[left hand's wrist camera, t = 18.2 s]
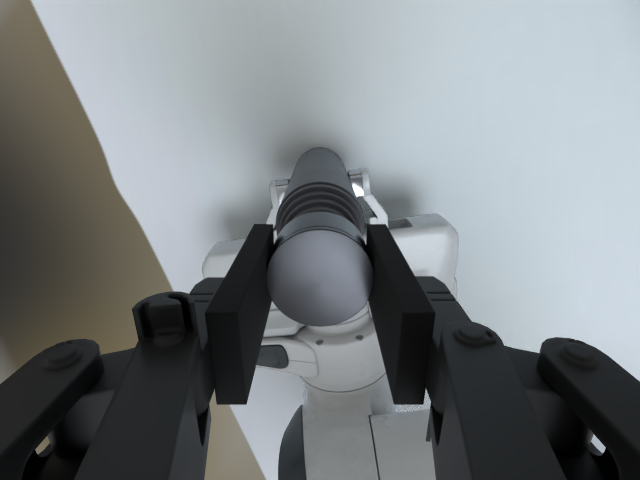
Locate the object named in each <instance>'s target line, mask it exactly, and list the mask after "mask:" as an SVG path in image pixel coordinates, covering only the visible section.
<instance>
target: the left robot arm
mask: <svg viewBox="0 0 640 480" xmlns="http://www.w3.org/2000/svg"><path fill="white" fill-rule="evenodd" d="M273 247H274V231H273V224H254V226H253V228H252V229H251V231H250V233H249V235H248V237H247V238H246V240H245V242H244V244H243V245H242V247H241V249H240V251H239V253H238V254H237V256H236V258H235V260H234V261H233V263H232V265H231V267H230V269H229V270H228V272H227V274H226V276H225V277H207V278H205V279H204V280H202V281H201V282H199V283H198V284H196V285H195V286H194V288H193V289H192V291H191V292H190V294H188V293H184V292H165V293H159V294H156V295H153V296H150V297H147V298H145V299H144V300H142V301H140V302H138V303H137V304H136V305H135V306H134V307H133V308H132V312H133V316H134V321H135V325H136V330H137V334H138V339H139V341H138V343H137V345H136V347H135V348H132V349H128V350H123V351H118V352H113V353H108V354H103V355H101V352H100V348H99V345H98V344H97V343H96V342H95V341H93V340H87V339H77V340H69V341H66V342H61V343H58V344H56V345H54V346H52V347H50V348H47V349H45V350H44V351H42V352H41V353H39V354H38V355H36V356H34V357H33V358H32V359H31V360H29V361H28V362H27V363H26V364H25V365H23V366H22V367H21V368H20V369H18V370H17V371H16V372H15V373H14V374H12V375H11V376H10V377H9V378H7V379H6V380H5V381H4V382H3V383H1V384H0V480H204V476H205V468H206V459H207V450H208V442H209V433H210V424H211V414H210V407H209V402H210V400H211V397H212V394H213V392H214V389H215V394H216V402H217V404H247V400H248V396H249V392H250V388H251V384H252V380H253V376H254V372H255V368H256V364H257V360H258V355H259V351H260V347H261V343H262V339H263V335H264V331H265V327H266V323H267V319H268V315H269V311H270V307H271V303H272V300H271V298H270V296H269V293H268V290H267V276H266V269H267V265H268V262H269V259H270V256H271V253H272V250H273ZM366 247H367V250H368V253H369V256H370V258H371V261H372V265H373V268H374V279H373V291H372V294H371V296H370V298H369V300H368V302H369V306H370V310H371V314H372V318H373V322H374V326H375V330H376V334H377V338H378V342H379V347H380V351H381V355H382V359H383V363H384V367H385V371H386V375H387V379H388V383H389V387H390V391H391V395H392V399H393V403H394V404H423V403H424V396H425V388H426V389H427V392H428V394H429V397H430V400H431V407H430V414H429V421H428V428H427V435H426V441H427V442H430V440H431V441H432V449H433V458H434V467H435V476H436V480H640V382H639V381H638V380H637V379H636V378H635V377H633V376H632V375H631V374H630V373H628V372H627V371H626V370H625V369H623V368H622V367H621V366H620V365H619V364H617V363H616V362H615V361H614V360H612V359H611V358H610V357H609V356H607V355H606V354H604V353H603V352H601V351H600V350H598V349H597V348H595V347H593V346H590V345H588V344H586V343H584V342H582V341H579V340H575V339H570V338H558V337H555V338H550V339H547V340H545V341H544V342H543V343H542V345H541V349H540V353H535V352H530V351H525V350H520V349H515V348H511V347H507V346H504V344H503V342H502V340H501V339H500V337H499V336H498V335H497V334H496V333H495V332H494V331H492V330H491V329H489V328H488V327H486V326H483V325H481V324H478V323H475V322H472V321H471V320H470V319H469V317H468V316H467V314H466V313H465V311H464V310H463V309H462V307H461V306H460V304H459V303H458V302H457V301H456V299H455V297H454V296H453V294H451V292H450V290H449V289H448V287H447V286H446V285H445V283H443V282H442V281H440V280H438V279H437V278H435V277H434V276H415V275H414V274H413V272H412V270H411V268H410V266H409V265H408V263H407V261H406V259H405V257H404V256H403V254H402V252H401V250H400V249H399V247H398V245H397V243H396V241H395V240H394V238H393V236H392V234H391V233H390V231H389V229H388V227H387V225H386V224H367V236H366ZM593 434H594V435H595V436H596V437H597V438H598V439H599V440H600V441H601V443H602V444H603V445H604V446H605V447H606V449H605V452H604V453H601V452H600V451H599V450H598V449H597V448H596V447H595V446H594V445H593V444H592V442H591V440H592V437H593ZM46 436H48V439H49V441H50V444H49V445H48V446H47V447H46V448H45V449H44V450H43V451H42V452H41V453H40V454H39V455H38V454H37V453H36V451H35V449H36V448H37V447H38V445H39V444H40V443H41V442H42V441H43V440H44V439H45V437H46Z"/></svg>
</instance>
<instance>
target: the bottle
mask: <svg viewBox="0 0 640 480" xmlns="http://www.w3.org/2000/svg"><path fill="white" fill-rule="evenodd" d="M311 212H329V213H334V214H337V215H340V216H342V217H344V218H346V219H347V220H349V221H350V222H351V223H352V224H354V225H355V226H356V228H357V229H358V230H359V231H360V233H361V234H362V236H363V233H364V223H365V222H364V215H363V211H362V209H361V206H360V204H359V201H358V199H357V196H356V194H355V192H354V189H353V187H352V184H351V182H350V179H349V177H348V175H347V172H346V170H345V167H344V165H343V162H342V160H341V159H340V157H339V156H338V155H337V154H336V153H335V152H333V151H331V150H329V149H326V148H314V149H311V150H308V151H307V152H305V153H304V154H303V155H302V156H301V157H300V159H299V160H298V162H297V165H296V167H295V170H294V172H293V174H292V177H291V179H290V182H289V184H288V187H287V189H286V192H285V194H284V196H283V199H282V201H281V204H280V206H279V209H278V211H277V215H276V233H277V236H278V234H279V233H280V231H281V230H282V229H283V228H284V227H285V225H287V224H288V223H289V222H290V221H291V220H293V219H295V218H296V217H298V216H300V215H303V214H306V213H311Z"/></svg>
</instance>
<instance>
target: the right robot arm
mask: <svg viewBox="0 0 640 480" xmlns="http://www.w3.org/2000/svg"><path fill="white" fill-rule="evenodd" d="M348 177H349V179H350V182H351V184H352V187H353V189H354V192H355V194H356V196H357V197H358V196H362V197H363V198H364V199H365V201H366V202H367V204H368V205H369V206H370V208H371V209H372V210H367V211H366V215H367V222H365V223H364V233H363V238H364V241H365V244H366V236H367V224H386V225H387V227H388V229H389V231H390V233H391V234H392V236H393V238H394V240H395V241H396V243H397V245H398V247H399V249H400V250H401V252H402V254H403V256H404V257H405V259H406V261H407V263H408V265H409V266H410V268H411V270H412V272H413V274H414V275H415V276H434V277H435V278H437V279H438V280H440V281H442V282H443V283H445V285H446V286H447V287H448V289H449V290H450V292H451V294H453V296H454V297H455V299H456V301H457V281H456V278H455V272H456V265H457V257H458V244H459V238H458V233H457V231H456V229H455V228H454V227H453V226H452V225H451V224H450V223H449V222H448V221H447V220H446V219H444V218H443V217H442V216H440V215H439V214H426V215H418V216H411V217H403V218H395V219H388V216H387V214H386V212H385V211H384V209H383V207H382V206H381V205H380V203H379V202H378V201H377V199H376V198H375V196H374V195H373V194H372V192H371V191H370V180H369V173H368V170H367V168H363V169H356V170H350V171H348ZM289 182H290V179H286V180H277V181H271V182H270V184H269V188H270V195H271V200H272V205H273V206H272V208H271V211H270V214H269V217H268V219H267V222H266V224H273V231H274V244H275V241H276V239H277V233H276V215H277V211H278V209H279V206H280V204H281V201H282V199H283V196H284V194H285V192H286V189H287V187H288V184H289ZM245 240H246V238H244V239H236V240H229V241H222V242H218V243H217V244H216V245H215V246H214V247H213V248H212V249H211V250H210V252H209V253H208V255H207V256H206V258H205V260H204V262H203V266H202V272H203V277H204V279H205V278H207V277H225V276H226V274H227V272H228V270H229V269H230V267H231V265H232V263H233V261H234V260H235V258H236V256H237V254H238V253H239V251H240V249H241V247H242V245H243V244H244V242H245ZM256 367H260V368H267V369H273V370H279V371H283V372H288V373H292V374H295V375H299V376H300V377H301V379H302V381H303V383H304V386H305V389H304V405H301V406H300V407H299V408H298V410H297V411H296V412H295V414H294V416H293V417H292V419H291V421H290V423H289V425H288V427H287V429H286V430H285V432H284V435H283V438H282V442H281V447H280V453H279V465H278V480H436V476H435V467H434V458H433V449H432V441H431V440H430V442H427V441H426V435H427V428H428V421H429V414H430V409H428V410H418V411H409V412H399V413H396V404H394V403H393V399H392V395H391V391H390V387H389V383H388V379H387V375H386V371H385V367H384V363H383V359H382V355H381V351H380V347H379V342H378V338H377V334H376V330H375V326H374V322H373V318H372V314H371V310H370V306H369V302H367V303H366V305H365V306H364V307H363V308H362V309H361V310H360V311H359V312H358V313H357V314H356V315H355V316H353V317H352V318H350V319H348V320H347V321H344V322H342V323H339V324H336V325H332V326H324V327H316V326H308V325H304V324H301V323H298V322H296V321H294V320H292V319H290V318H288V317H287V316H286V315H284V314H283V313H282V312H281V311H280V310H279V309H278V308H277V307H276V306H275V305H274V303H273V301H272V303H271V307H270V311H269V315H268V319H267V323H266V327H265V331H264V335H263V339H262V343H261V347H260V351H259V355H258V360H257V364H256Z"/></svg>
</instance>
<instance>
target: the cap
mask: <svg viewBox="0 0 640 480" xmlns="http://www.w3.org/2000/svg"><path fill="white" fill-rule="evenodd" d="M266 276H267V290H268V293H269V296H270V298H271V300H272V301H273V303H274V305H275V306H276V307H277V308H278V309H279V310H280V311H281V312H282V313H283V314H284V315H286V316H287V317H288V318H290V319H292V320H294V321H296V322H298V323H301V324H304V325H308V326H316V327H324V326H332V325H336V324H339V323H342V322H344V321H347V320H348V319H350V318H352V317H353V316H355V315H356V314H357V313H358V312H359V311H360V310H361V309H362V308H363V307H364V306H365V305H366V303H367V302H368V300H369V298H370V296H371V294H372V291H373V279H374V268H373V265H372V261H371V258H370V256H369V253H368V250H367V247H366V244H365V241H364V238H363V236H362V234H361V233H360V231H359V230H358V229H357V228H356V226H355V225H354V224H352V223H351V222H350V221H349V220H347V219H346V218H344V217H342V216H340V215H337V214H334V213H329V212H311V213H306V214H303V215H300V216H298V217H296V218H295V219H293V220H291V221H290V222H289V223H288V224H287V225H285V227H284V228H283V229H282V230H281V231H280V233H279V234H278V236H277V239H276V241H275V244H274V247H273V250H272V253H271V256H270V259H269V262H268V265H267V269H266Z"/></svg>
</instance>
